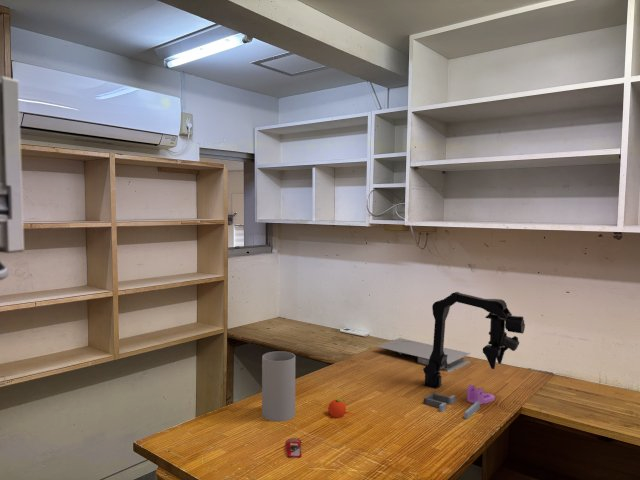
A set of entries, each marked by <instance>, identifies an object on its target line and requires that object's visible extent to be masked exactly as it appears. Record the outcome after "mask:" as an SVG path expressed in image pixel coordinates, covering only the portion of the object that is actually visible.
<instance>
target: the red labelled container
mask: <svg viewBox="0 0 640 480" xmlns="http://www.w3.org/2000/svg"><path fill="white" fill-rule="evenodd" d="M284 444H285V449H286V451H285V452H286V457H287V459H288V458H289V459H301V457H302V456H303V452H302V444H303V442H302V441H301V439H300V438H296V437H292V438H288V439H287V440H286V441H285V443H284Z"/></svg>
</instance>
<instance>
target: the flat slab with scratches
mask: <svg viewBox="0 0 640 480" xmlns="http://www.w3.org/2000/svg"><path fill="white" fill-rule="evenodd" d="M375 347H377V348H381V349H386V350H390V351H393V352H397V354H399V355H401V356H402V355H411V356H415V357H417V363H418V364H419V363H420V364H423V365H426V366H427V365H428V363H429V359H430V356H431V353H432V351H433V344H429V343H424V342H419V341H415V340H410V339H405V338H401V337H399V338H396V339H394V340H390V341H387V342H384V343H382V344H379V345H376V346H375ZM443 351H444V354H445V355H447V364H446V365H445V366H444V367H443V368H442V370H443V371H445V370H448V372H447V373H451V372H453V371H456V370H458V369H460V368H462V367H464V366H466V364H467V365H469V364H471V361H469V360H465V359H463V358H465V357H467V356H469V355H471V353H470V352H467V351H466V352H465V351H461V350H457V349H453V348H452V349H451V348H447V347H443ZM468 363H469V364H468ZM455 369H456V370H455Z"/></svg>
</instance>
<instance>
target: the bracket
mask: <svg viewBox="0 0 640 480" xmlns="http://www.w3.org/2000/svg"><path fill="white" fill-rule="evenodd" d="M466 389H467V390H466V401H467V402H469V403H471V404H473V403H475V402H476V401H479V402H480V404H481V405H483V403H484V404H487V403H490V402H493V401H495V398H496V397H495V395H494V394H492V393H488V392H485V391H484V390H485V389H483V388H481V387H478V388H476V386H475V385H473V384H469V385H468V386H467V388H466Z"/></svg>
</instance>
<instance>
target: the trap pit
mask: <svg viewBox="0 0 640 480" xmlns="http://www.w3.org/2000/svg"><path fill="white" fill-rule="evenodd" d="M450 397H451V396H449V395H444V394H440V393H435V392H431V393H429V394H428V395H427V396H425V397H423V405H426V406H429V407H430V406H431V407H434V408H437V409H439V405H441V404H442V403H443V402H444V403H446V404H449V398H450ZM449 405H450V404H449Z"/></svg>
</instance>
